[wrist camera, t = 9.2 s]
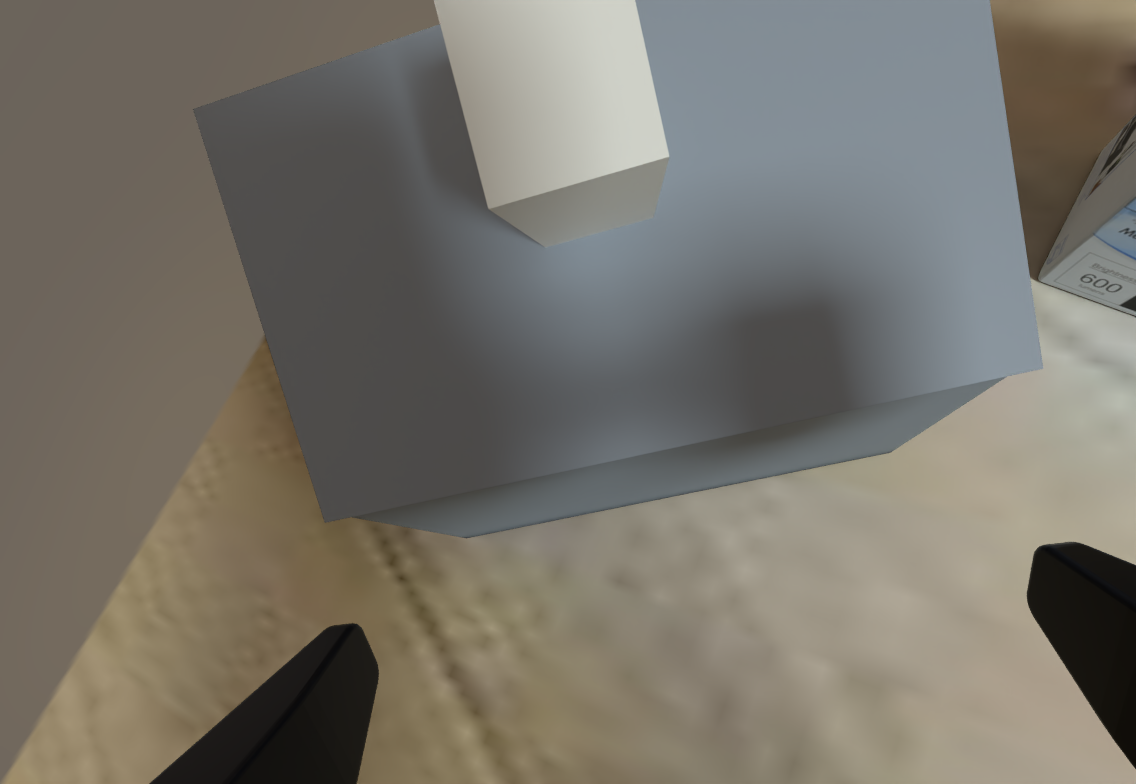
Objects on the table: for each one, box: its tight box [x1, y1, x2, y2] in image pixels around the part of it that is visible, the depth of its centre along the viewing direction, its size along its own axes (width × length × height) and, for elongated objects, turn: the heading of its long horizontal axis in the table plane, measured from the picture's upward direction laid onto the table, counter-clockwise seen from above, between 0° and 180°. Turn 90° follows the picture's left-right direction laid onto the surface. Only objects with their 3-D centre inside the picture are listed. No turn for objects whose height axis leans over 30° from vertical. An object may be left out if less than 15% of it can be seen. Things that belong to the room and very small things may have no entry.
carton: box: [354, 376, 1007, 538], centre depth 19 cm, size 10×16×8 cm, turn 100°
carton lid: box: [193, 0, 1043, 523], centre depth 10 cm, size 10×16×6 cm, turn 100°
